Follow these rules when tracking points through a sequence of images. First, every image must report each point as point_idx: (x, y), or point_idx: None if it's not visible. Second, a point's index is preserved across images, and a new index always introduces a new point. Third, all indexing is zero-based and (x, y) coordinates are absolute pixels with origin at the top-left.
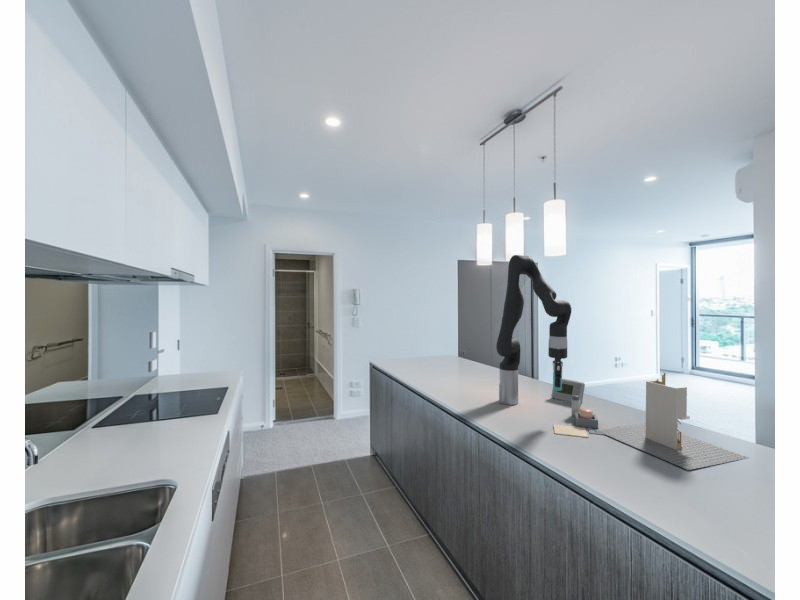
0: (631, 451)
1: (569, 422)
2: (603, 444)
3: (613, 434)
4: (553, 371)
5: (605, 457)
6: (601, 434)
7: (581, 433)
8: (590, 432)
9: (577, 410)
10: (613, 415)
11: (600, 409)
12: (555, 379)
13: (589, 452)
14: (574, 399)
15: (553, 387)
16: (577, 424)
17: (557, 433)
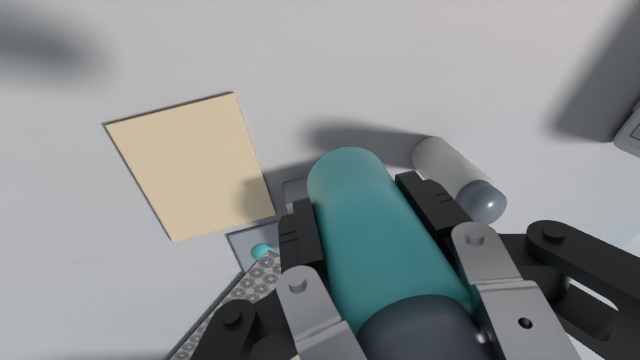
0: (148, 340)
1: (324, 147)
2: (143, 284)
3: (261, 292)
4: (333, 335)
5: (20, 307)
6: (242, 265)
7: (195, 216)
8: (232, 238)
9: (426, 179)
10: None
11: (553, 213)
12: (301, 259)
13: (15, 268)
14: (459, 197)
15: (327, 166)
16: (284, 190)
17: (112, 137)
